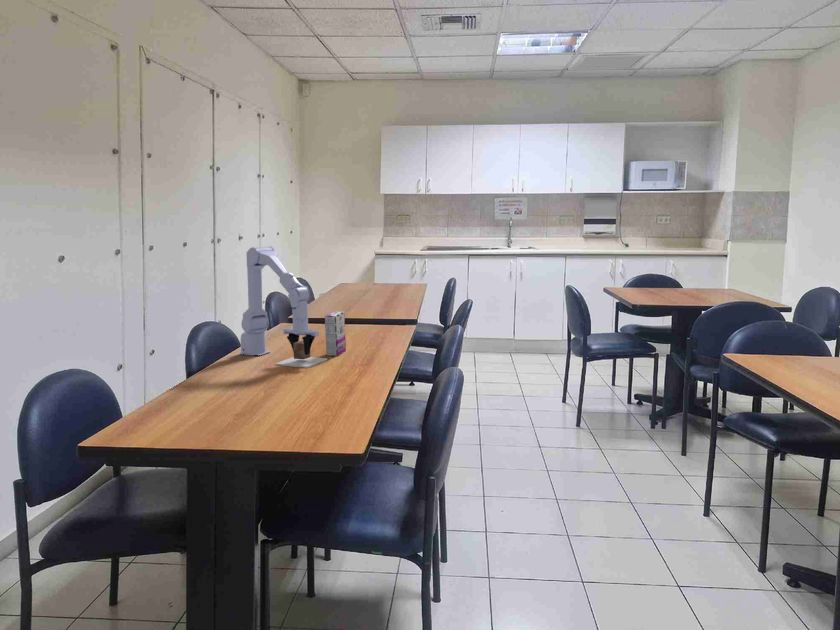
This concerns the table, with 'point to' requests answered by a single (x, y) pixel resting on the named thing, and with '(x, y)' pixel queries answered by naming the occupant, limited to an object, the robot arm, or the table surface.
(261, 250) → the robot arm
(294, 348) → the walnut block
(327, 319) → the candy bar box
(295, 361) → the pad
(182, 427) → the table surface
